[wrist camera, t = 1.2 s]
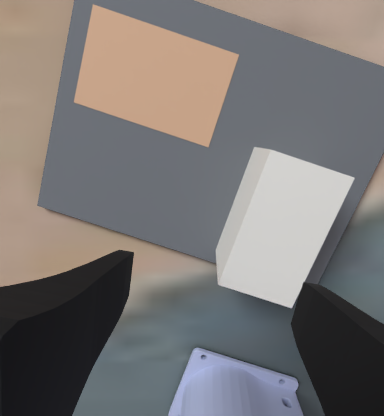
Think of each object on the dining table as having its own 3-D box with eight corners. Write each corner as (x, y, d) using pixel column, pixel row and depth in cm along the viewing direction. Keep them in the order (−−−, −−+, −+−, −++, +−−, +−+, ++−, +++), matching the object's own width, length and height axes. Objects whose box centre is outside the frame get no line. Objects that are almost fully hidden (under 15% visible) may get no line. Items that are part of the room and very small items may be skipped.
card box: (316, 167, 19) (354, 177, 14) (271, 268, 21) (291, 308, 16) (254, 146, 18) (271, 149, 14) (215, 250, 20) (218, 284, 16)
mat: (412, 81, 17) (420, 79, 17) (309, 290, 21) (312, 294, 21) (85, -33, 17) (81, -40, 16) (42, 203, 21) (36, 205, 20)
